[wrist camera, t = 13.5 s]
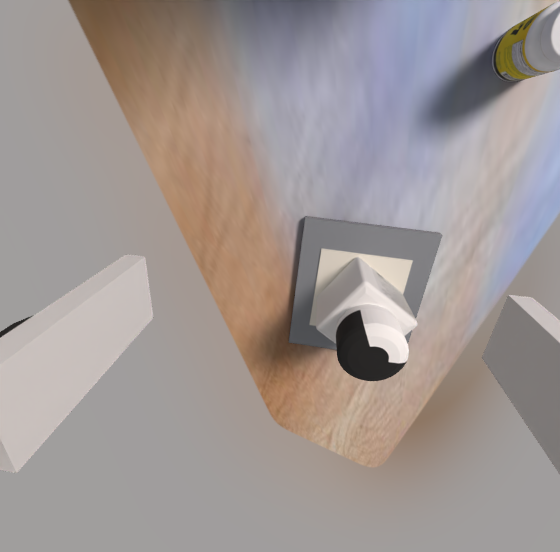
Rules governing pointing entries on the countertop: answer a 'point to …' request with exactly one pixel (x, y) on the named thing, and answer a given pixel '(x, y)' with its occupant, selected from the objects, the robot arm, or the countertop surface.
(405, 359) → the container
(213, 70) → the countertop surface
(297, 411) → the countertop surface
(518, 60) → the supplement bottle
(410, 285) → the board
